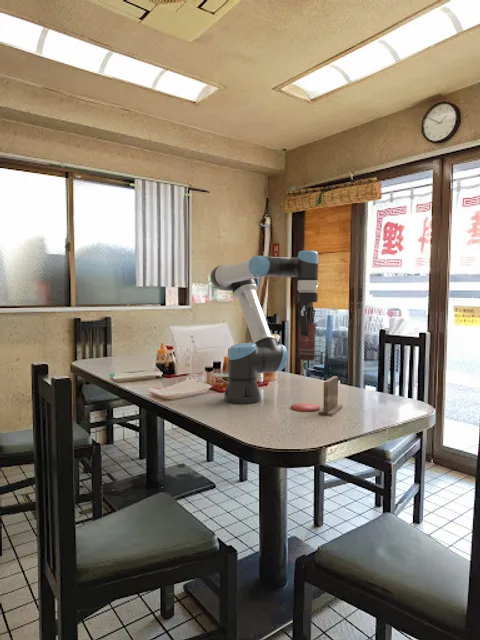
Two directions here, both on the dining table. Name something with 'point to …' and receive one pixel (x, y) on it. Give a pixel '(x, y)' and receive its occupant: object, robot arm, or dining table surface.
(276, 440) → the dining table surface
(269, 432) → the dining table surface
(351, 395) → the dining table surface
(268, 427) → the dining table surface
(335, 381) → the screen
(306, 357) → the can
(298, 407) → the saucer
